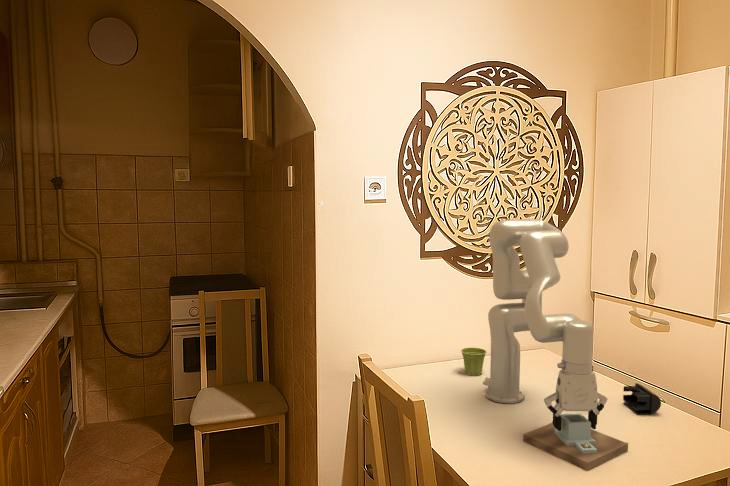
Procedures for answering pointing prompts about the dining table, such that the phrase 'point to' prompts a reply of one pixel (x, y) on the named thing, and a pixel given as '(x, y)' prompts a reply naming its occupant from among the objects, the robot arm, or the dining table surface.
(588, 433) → the grey bracket housing
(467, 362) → the plant pot
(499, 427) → the dining table surface
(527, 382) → the dining table surface
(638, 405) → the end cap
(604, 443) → the post board
